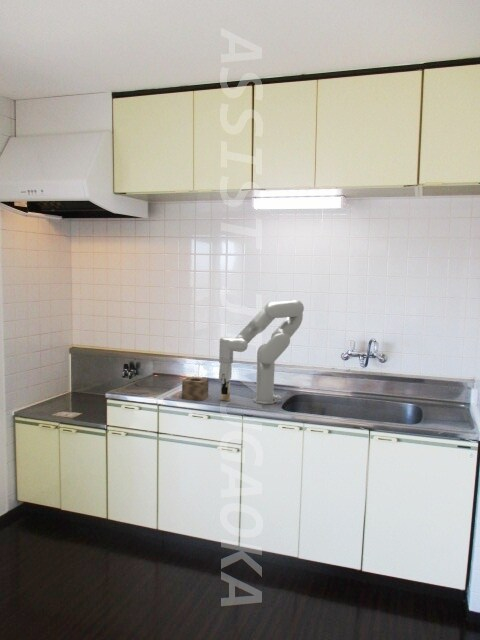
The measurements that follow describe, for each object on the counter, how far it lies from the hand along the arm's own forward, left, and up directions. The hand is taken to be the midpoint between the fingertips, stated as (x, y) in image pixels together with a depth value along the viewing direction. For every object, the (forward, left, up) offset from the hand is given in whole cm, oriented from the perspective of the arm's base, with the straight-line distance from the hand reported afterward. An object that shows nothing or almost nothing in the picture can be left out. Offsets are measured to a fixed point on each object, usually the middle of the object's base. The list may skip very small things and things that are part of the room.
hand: (225, 393), depth 282 cm
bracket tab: (0, 0, -4) cm, 4 cm away
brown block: (+17, 0, -4) cm, 18 cm away
